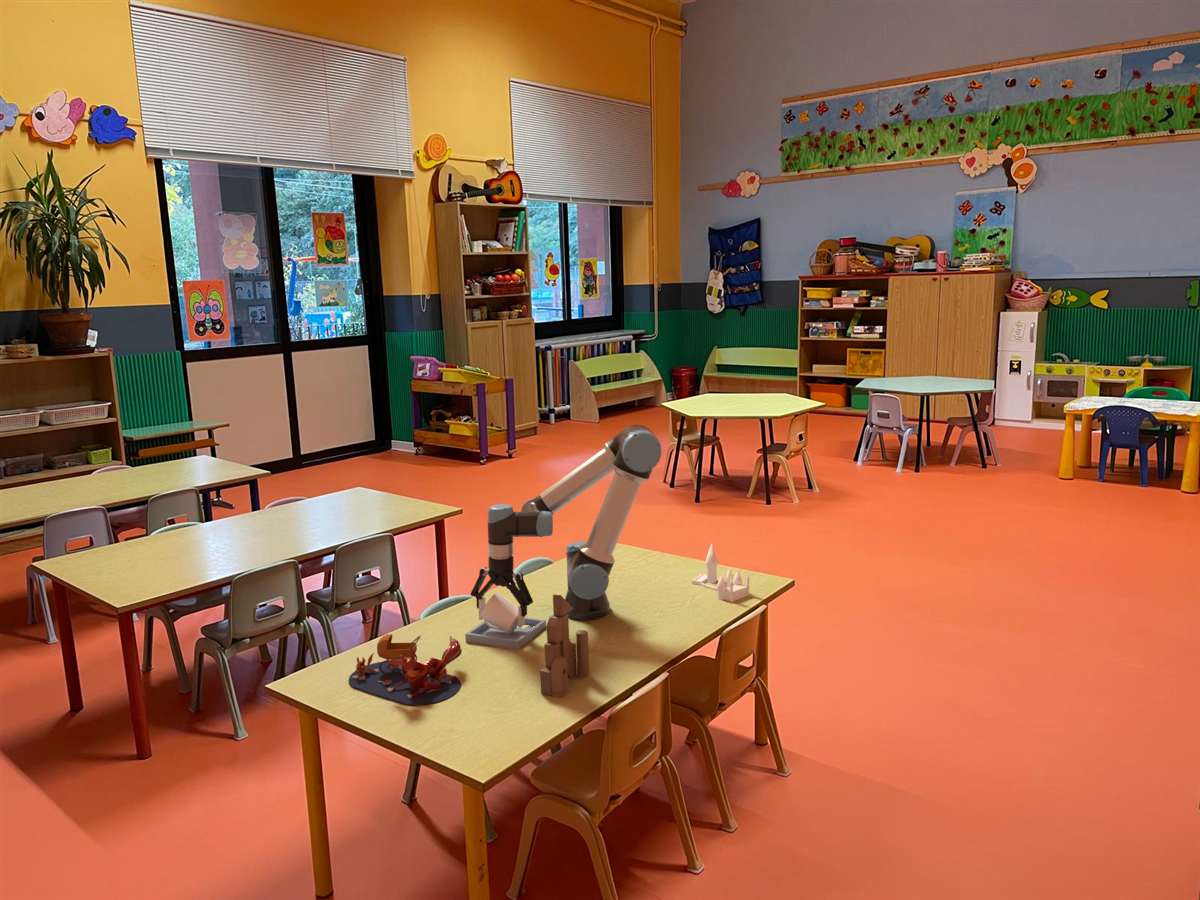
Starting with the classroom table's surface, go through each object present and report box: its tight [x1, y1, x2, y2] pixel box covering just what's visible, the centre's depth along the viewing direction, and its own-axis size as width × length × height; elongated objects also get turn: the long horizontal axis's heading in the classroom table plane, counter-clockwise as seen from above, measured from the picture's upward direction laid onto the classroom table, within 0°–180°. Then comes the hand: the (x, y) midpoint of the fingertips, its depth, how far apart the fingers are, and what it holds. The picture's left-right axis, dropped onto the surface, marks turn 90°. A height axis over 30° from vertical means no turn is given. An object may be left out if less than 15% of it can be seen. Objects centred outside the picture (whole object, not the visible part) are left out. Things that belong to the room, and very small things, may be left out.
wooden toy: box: [539, 593, 590, 698], centre depth 235 cm, size 16×7×25 cm, turn 152°
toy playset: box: [348, 633, 463, 706], centre depth 244 cm, size 35×26×14 cm
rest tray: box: [464, 617, 547, 650], centre depth 272 cm, size 18×18×3 cm
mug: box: [481, 592, 518, 634], centre depth 272 cm, size 11×9×10 cm
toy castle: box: [691, 543, 750, 603], centre depth 301 cm, size 14×25×16 cm, turn 39°
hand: (501, 622), depth 271 cm, fingers closed on mug, 13 cm apart
